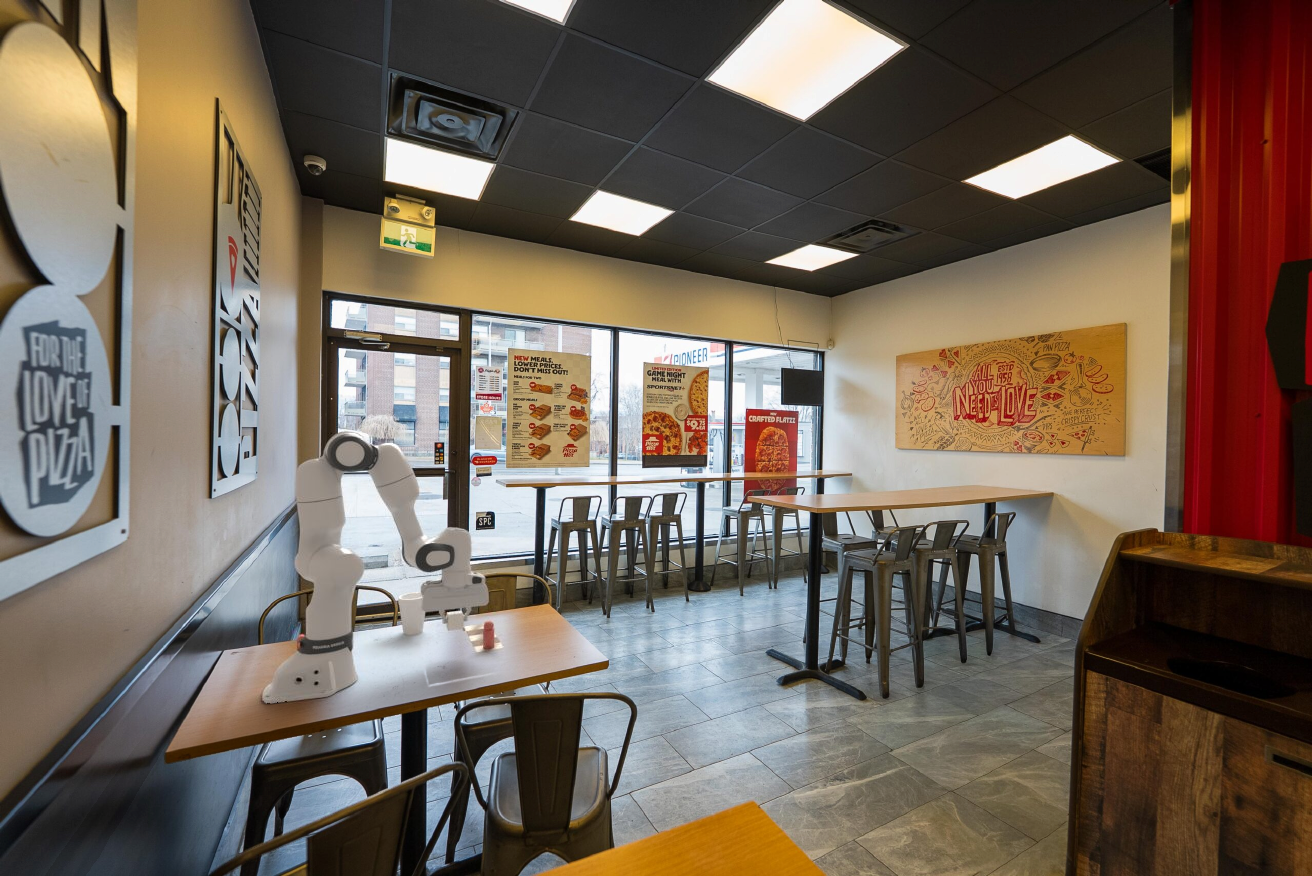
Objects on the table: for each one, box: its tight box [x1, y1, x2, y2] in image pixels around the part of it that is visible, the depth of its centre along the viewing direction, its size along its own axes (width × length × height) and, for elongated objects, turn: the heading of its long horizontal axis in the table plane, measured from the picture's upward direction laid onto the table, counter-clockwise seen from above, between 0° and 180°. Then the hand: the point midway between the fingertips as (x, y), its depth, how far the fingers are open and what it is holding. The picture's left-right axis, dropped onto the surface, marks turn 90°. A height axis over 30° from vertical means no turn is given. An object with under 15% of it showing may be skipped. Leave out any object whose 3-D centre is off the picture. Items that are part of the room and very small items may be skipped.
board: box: [462, 623, 504, 653], centre depth 191 cm, size 9×28×1 cm, turn 27°
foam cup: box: [398, 591, 426, 636], centre depth 197 cm, size 10×9×13 cm
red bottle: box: [482, 620, 495, 649], centre depth 181 cm, size 4×4×9 cm
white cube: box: [445, 610, 465, 631], centre depth 175 cm, size 4×4×4 cm
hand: (454, 621), depth 175 cm, fingers closed on white cube, 4 cm apart
